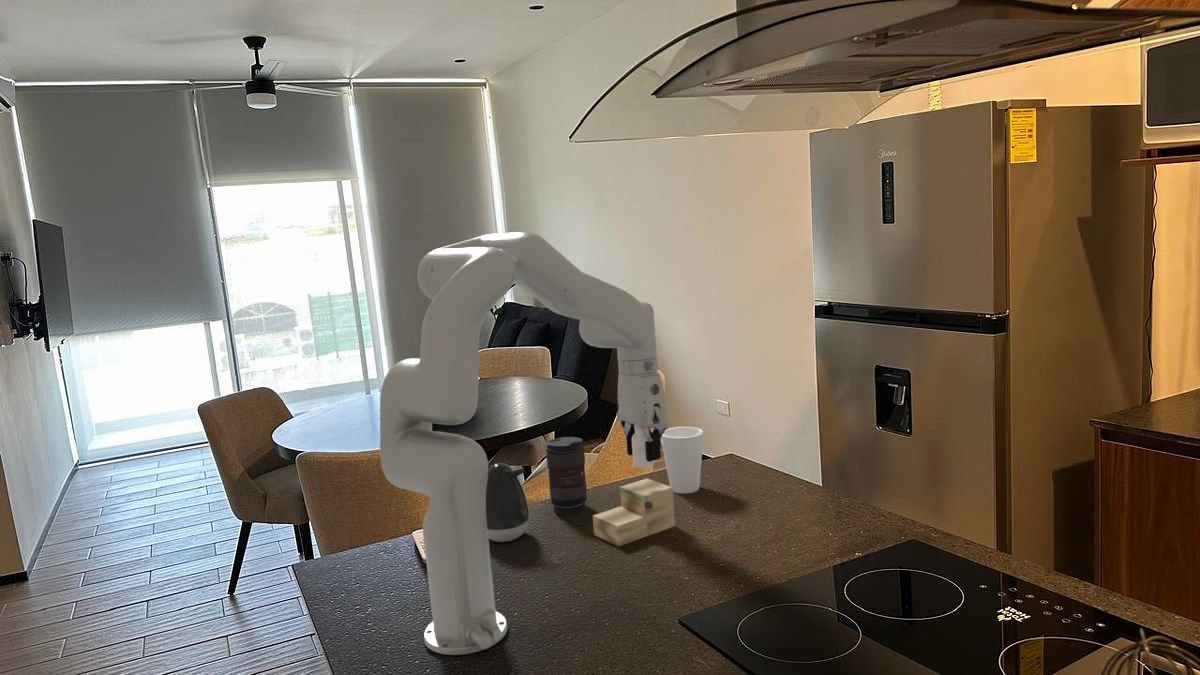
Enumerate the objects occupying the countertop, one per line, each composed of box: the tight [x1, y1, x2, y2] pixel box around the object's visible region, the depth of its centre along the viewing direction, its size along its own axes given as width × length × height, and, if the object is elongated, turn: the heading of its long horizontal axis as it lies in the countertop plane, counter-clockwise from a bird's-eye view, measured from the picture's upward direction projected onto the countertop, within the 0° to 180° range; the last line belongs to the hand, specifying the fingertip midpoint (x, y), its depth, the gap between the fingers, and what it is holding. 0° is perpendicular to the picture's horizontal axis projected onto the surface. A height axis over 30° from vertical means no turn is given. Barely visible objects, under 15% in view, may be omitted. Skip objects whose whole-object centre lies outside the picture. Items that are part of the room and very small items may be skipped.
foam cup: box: [660, 426, 705, 494], centre depth 185 cm, size 10×9×13 cm
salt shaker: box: [632, 424, 656, 469], centre depth 164 cm, size 4×4×10 cm
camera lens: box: [545, 436, 588, 515], centre depth 178 cm, size 8×8×15 cm
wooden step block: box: [592, 478, 676, 547], centre depth 163 cm, size 9×14×8 cm, turn 126°
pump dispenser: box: [486, 462, 531, 543], centre depth 165 cm, size 10×10×15 cm
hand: (644, 455), depth 164 cm, fingers closed on salt shaker, 5 cm apart
